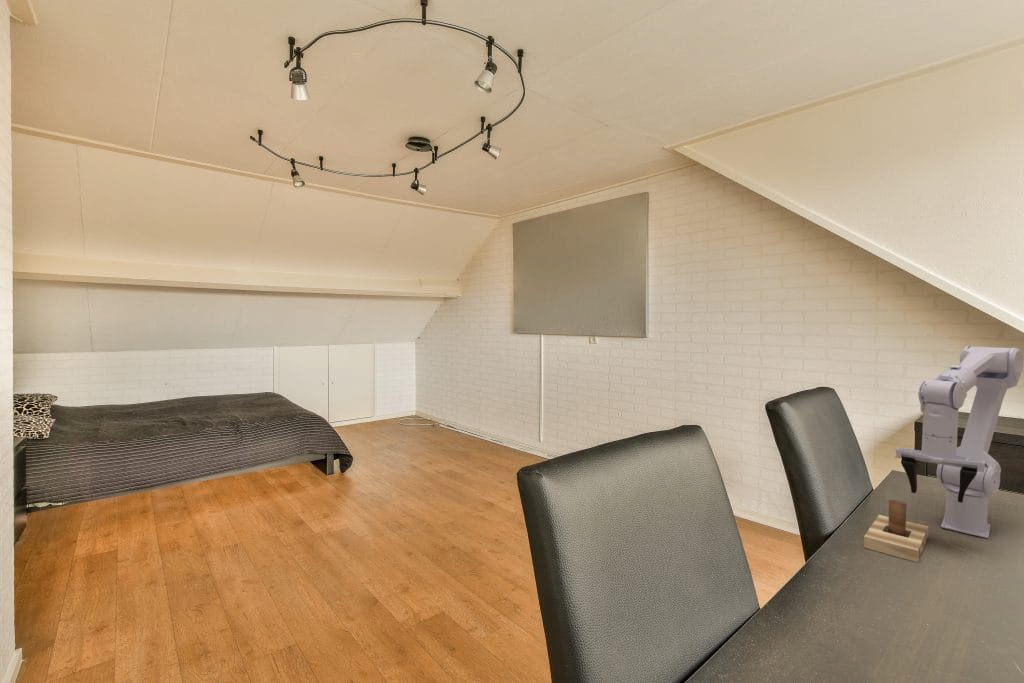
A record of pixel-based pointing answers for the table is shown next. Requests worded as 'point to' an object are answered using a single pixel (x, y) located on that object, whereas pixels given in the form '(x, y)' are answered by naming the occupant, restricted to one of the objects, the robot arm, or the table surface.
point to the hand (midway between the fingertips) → (936, 496)
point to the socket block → (896, 539)
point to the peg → (897, 518)
